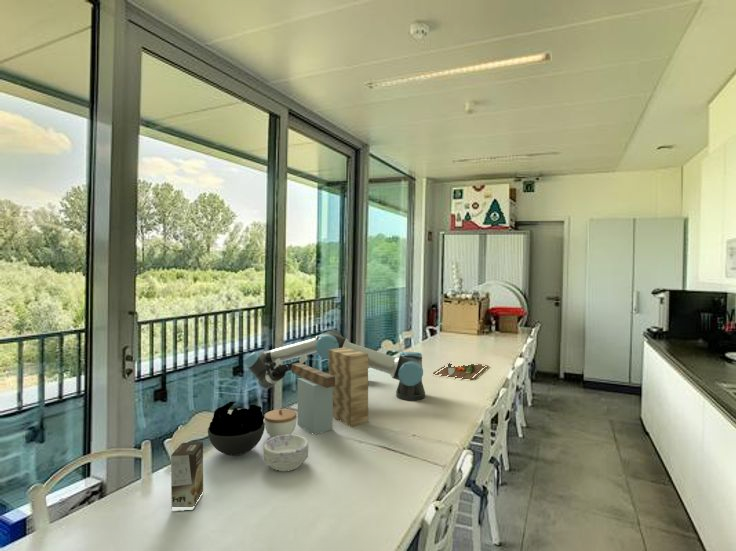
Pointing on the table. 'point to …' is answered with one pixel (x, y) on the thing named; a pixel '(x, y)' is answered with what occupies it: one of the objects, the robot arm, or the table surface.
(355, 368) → the tall stand
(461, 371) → the chopping board
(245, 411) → the coal bowl
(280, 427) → the lidded bowl
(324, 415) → the base block
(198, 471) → the coffee box
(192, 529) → the table surface
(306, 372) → the walnut block
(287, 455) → the paper bowls
